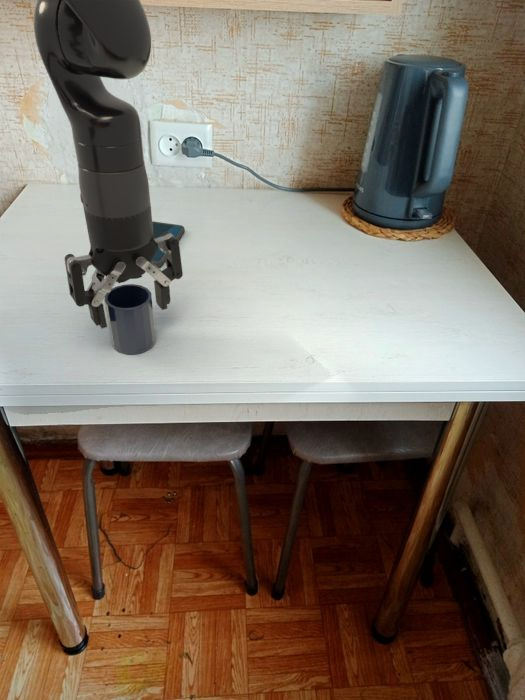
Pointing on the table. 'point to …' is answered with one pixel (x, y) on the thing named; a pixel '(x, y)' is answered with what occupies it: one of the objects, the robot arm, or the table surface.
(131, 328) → the pot
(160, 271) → the robot arm
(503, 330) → the table surface
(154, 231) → the smartphone
